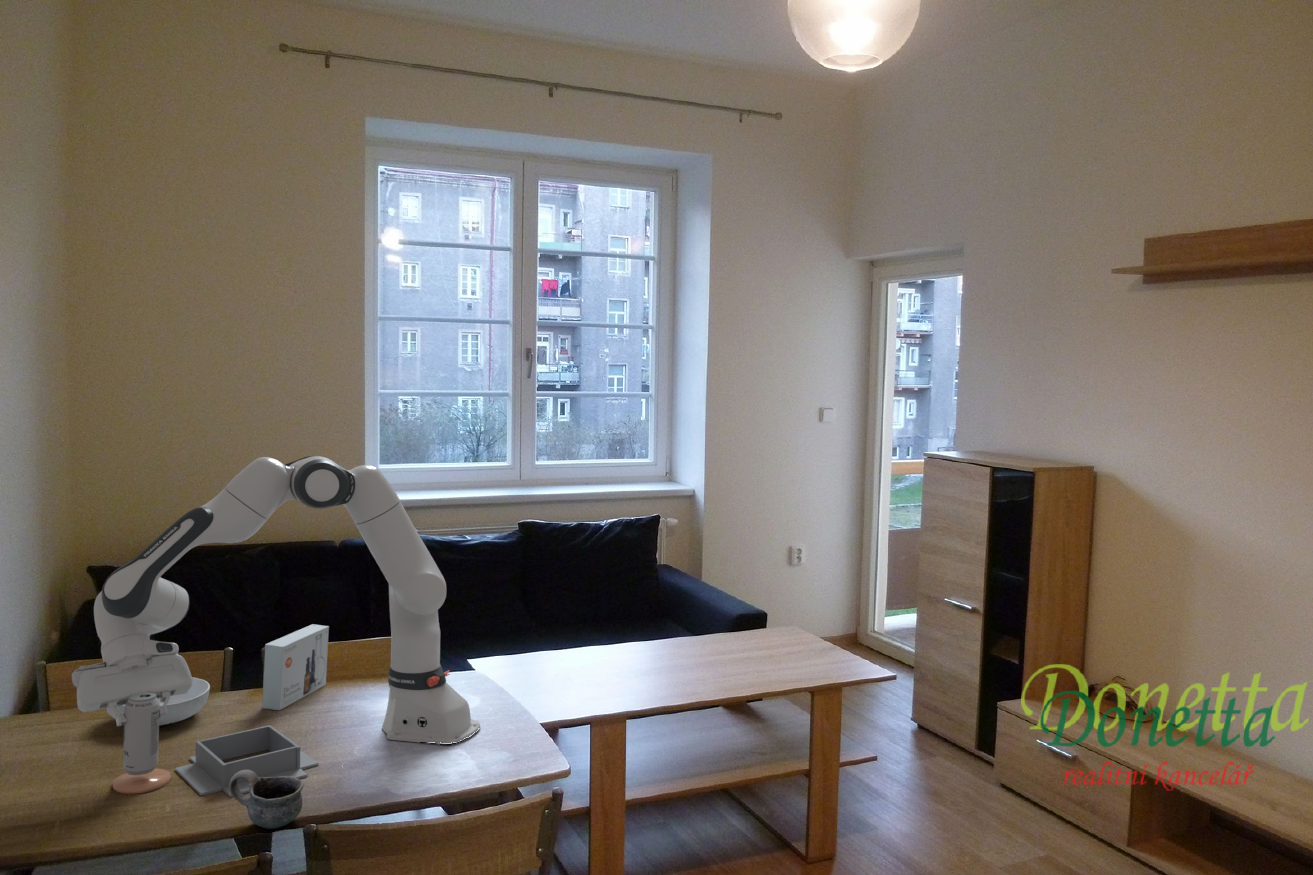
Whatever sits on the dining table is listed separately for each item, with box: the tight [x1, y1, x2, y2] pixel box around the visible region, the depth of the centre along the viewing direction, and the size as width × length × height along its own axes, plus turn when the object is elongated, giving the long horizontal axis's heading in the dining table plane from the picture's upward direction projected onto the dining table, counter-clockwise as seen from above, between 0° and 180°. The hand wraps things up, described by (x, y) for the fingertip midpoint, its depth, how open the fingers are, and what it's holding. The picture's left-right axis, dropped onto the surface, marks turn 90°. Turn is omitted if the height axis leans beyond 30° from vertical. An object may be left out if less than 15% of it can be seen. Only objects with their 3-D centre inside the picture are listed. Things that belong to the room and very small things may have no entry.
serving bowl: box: [116, 676, 211, 727], centre depth 222 cm, size 21×21×7 cm
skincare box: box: [261, 623, 330, 711], centre depth 240 cm, size 21×5×16 cm, turn 168°
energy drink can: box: [122, 691, 160, 775], centre depth 188 cm, size 6×6×15 cm
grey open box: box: [174, 724, 319, 798], centre depth 197 cm, size 23×23×5 cm
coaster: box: [112, 767, 172, 795], centre depth 188 cm, size 10×10×1 cm
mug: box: [229, 770, 305, 830], centre depth 173 cm, size 10×12×10 cm
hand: (143, 720), depth 187 cm, fingers closed on energy drink can, 6 cm apart
